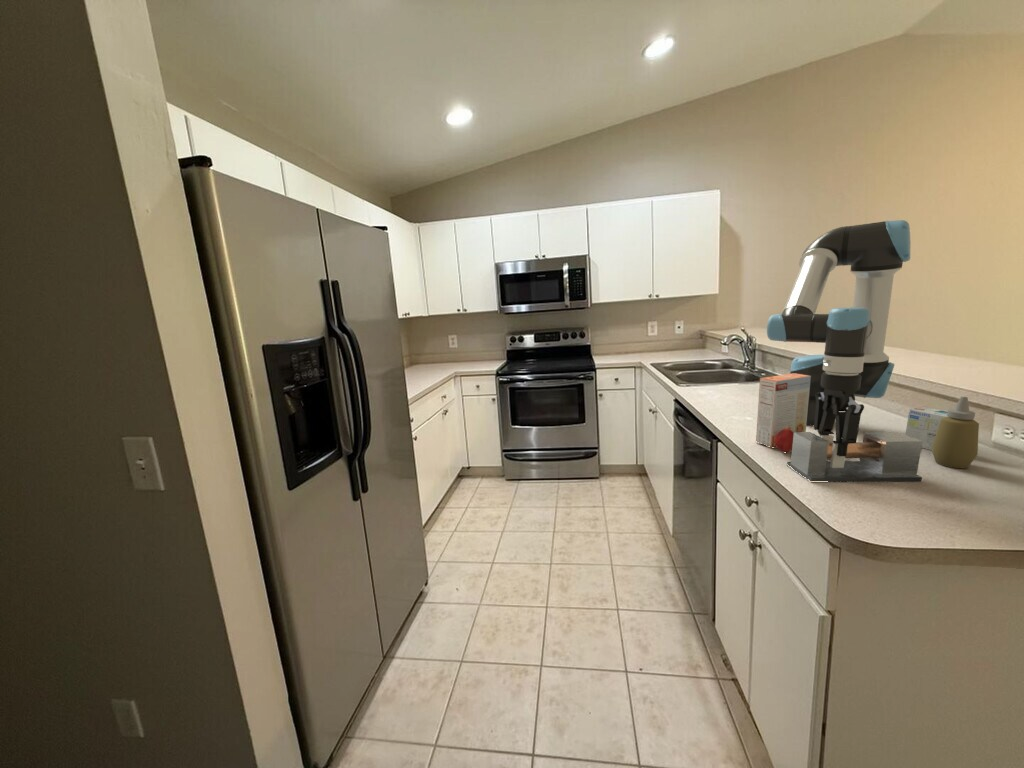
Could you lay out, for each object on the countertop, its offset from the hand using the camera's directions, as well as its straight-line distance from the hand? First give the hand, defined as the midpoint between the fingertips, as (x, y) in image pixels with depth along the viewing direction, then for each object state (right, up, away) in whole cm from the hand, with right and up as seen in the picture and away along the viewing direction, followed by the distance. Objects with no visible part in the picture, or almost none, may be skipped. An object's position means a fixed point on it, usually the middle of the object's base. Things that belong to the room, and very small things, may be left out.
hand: (830, 463), depth 102 cm
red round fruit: (-2, 0, +14) cm, 15 cm away
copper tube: (+2, +1, 0) cm, 3 cm away
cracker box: (+2, +2, +23) cm, 23 cm away
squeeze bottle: (+33, -1, +3) cm, 34 cm away
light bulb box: (+40, +2, +14) cm, 43 cm away
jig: (+5, -3, 0) cm, 6 cm away
